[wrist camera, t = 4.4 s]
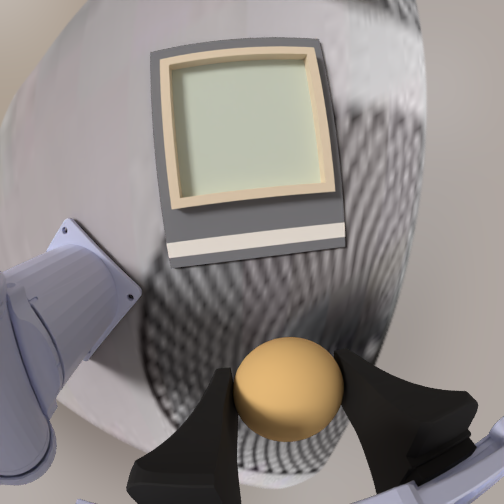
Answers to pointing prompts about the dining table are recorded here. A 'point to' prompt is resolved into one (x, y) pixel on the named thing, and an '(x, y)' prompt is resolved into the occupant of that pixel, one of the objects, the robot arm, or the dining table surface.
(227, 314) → the dining table surface
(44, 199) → the dining table surface
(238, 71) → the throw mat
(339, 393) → the ball
